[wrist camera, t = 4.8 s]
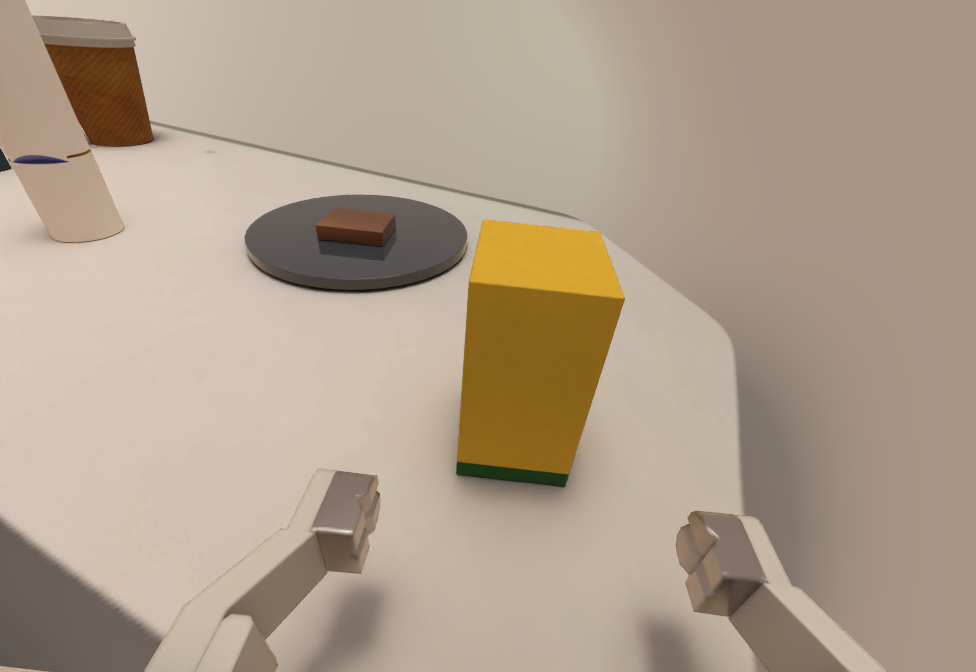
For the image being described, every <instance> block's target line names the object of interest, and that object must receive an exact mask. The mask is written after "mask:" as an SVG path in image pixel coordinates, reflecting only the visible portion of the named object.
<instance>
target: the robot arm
mask: <svg viewBox="0 0 976 672" xmlns="http://www.w3.org/2000/svg"><path fill="white" fill-rule="evenodd" d="M377 487H378V477H377V475H368V474H360V473H351V472H343V471H337V470H328V469H317V471H316V472H315V473H314V474H313V476H312V478H311V480H310V482H309V484H308V486H307V488H306V490H305V492H304V494H303V496H302V498H301V501H300V503H299V505H298V507H297V509H296V511H295V513H294V515H293V517H292V519H291V521H290V523H289V525H288V527H287V529H280V530H278V531H277V532H276V533H275V534H273V535H272V536H271V537H270V538H268V539H267V540H266V541H264V542H263V543H262V544H261V545H259V546H258V547H257V548H256V549H254V550H253V551H252V552H251V553H249V554H248V555H247V556H246V557H244V558H243V559H242V560H241V561H239V562H238V563H237V564H236V565H234V566H233V567H232V568H230V569H229V570H228V571H227V572H225V573H224V574H223V575H222V576H220V577H219V578H218V579H217V580H215V581H214V582H213V583H212V584H210V585H209V586H208V587H207V588H205V589H204V590H203V591H202V592H200V593H199V594H198V595H196V596H195V597H194V598H193V599H191V600H190V601H189V602H188V603H186V604H185V605H184V606H183V607H182V609H181V611H180V612H179V614H178V616H177V617H176V619H175V621H174V622H173V624H172V626H171V627H170V629H169V631H168V632H167V634H166V636H165V637H164V639H163V641H162V642H161V644H160V646H159V647H158V649H157V651H156V652H155V654H154V656H153V658H152V659H151V661H150V662H149V664H148V666H147V667H146V669H145V671H144V672H275V671H276V669H277V666H278V663H277V660H276V657H275V656H274V654H273V652H272V651H271V649H270V647H269V646H268V644H267V642H266V641H265V640H266V639H267V638H268V636H269V635H270V634H271V633H272V632H273V631H274V630H275V629H276V628H277V627H278V626H279V625H280V624H281V622H282V621H283V620H284V619H285V618H286V617H287V616H288V615H289V614H290V613H291V612H292V611H293V610H294V608H295V607H296V606H297V605H298V604H299V603H300V602H301V601H302V600H303V599H304V598H305V597H306V596H307V594H308V593H309V592H310V591H311V590H312V589H313V588H314V587H315V586H316V585H317V584H318V583H319V582H320V581H321V579H322V578H323V577H324V576H325V575H326V574H327V571H334V572H345V573H357V574H361V573H362V569H363V566H364V563H365V560H366V556H367V553H368V550H369V542H368V535H370V534H371V533H372V532H373V531H374V530H375V527H376V523H377V520H378V515H379V509H380V493H379V492H378V491H376V490H377ZM688 521H689V524H687V525H685V526H683V527H681V529H680V531H679V532H678V534H677V541H676V549H677V555H678V559H679V563H680V565H681V566H682V567H683V568H684V570H685V571H686V572H687V573H688V574H689V575H688V578H687V580H686V587H687V590H688V593H689V597H690V600H691V603H692V607H693V610H694V612H699V613H706V614H713V615H720V616H727V617H729V618H728V619H729V620H730V622H731V623H732V624H733V626H734V627H735V628H736V630H737V631H738V632H739V633H740V635H741V636H742V637H743V639H744V640H745V641H746V643H747V644H748V645H749V647H750V648H751V649H752V651H753V652H754V653H755V654H756V656H757V657H758V658H759V660H760V661H761V662H762V664H763V665H764V666H765V667H766V669H767V670H768V672H887V671H886V670H885V669H884V668H883V667H882V666H881V665H880V664H879V663H878V662H877V661H876V660H875V659H874V658H873V657H872V656H870V655H869V654H868V653H867V652H866V651H865V650H864V649H863V648H862V647H861V646H860V645H859V644H858V643H857V642H856V641H855V640H854V639H853V638H851V637H850V636H849V635H848V634H847V633H846V632H845V631H844V630H843V629H842V628H841V627H840V626H839V625H838V624H837V623H836V622H835V621H833V619H831V618H830V617H829V616H828V615H827V614H826V613H825V612H824V611H823V610H822V609H821V608H820V607H819V606H818V605H817V604H816V603H815V602H814V601H813V600H811V599H810V598H809V597H808V596H807V595H806V594H805V593H804V592H803V591H802V590H801V589H800V588H799V587H795V586H792V585H791V583H790V581H789V579H788V577H787V575H786V573H785V571H784V569H783V567H782V564H781V563H780V561H779V558H778V556H777V555H776V552H775V550H774V548H773V546H772V544H771V542H770V540H769V538H768V536H767V534H766V532H765V530H764V528H763V526H762V524H761V522H760V521H759V520H758V519H757V518H755V517H750V516H740V515H733V514H725V513H714V512H704V511H694V512H691V513H690V515H689V516H688ZM0 672H46V671H37V670H29V669H19V668H12V667H3V666H0Z"/></svg>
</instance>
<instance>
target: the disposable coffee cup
mask: <svg viewBox="0 0 976 672" xmlns="http://www.w3.org/2000/svg"><path fill="white" fill-rule="evenodd" d="M32 17H33V20H34V22H35V24H36V27H37V29H38V31H39V33H40V36H41V38H42V40H43V42H44V45H45V47H46V49H47V52H48V54H49V56H50V58H51V61H52V63H53V65H54V67H55V70H56V72H57V74H58V77H59V79H60V81H61V83H62V86H63V88H64V90H65V92H66V95H67V97H68V99H69V102H70V104H71V106H72V108H73V111H74V113H75V115H76V117H77V120H78V121H79V123H80V125H81V127H82V128H83V130H84V132H85V133H86V135H87V137H88V139H89V140H90V142H91V143H94V144H98V145H106V146H126V145H137V144H144V143H147V142H150V141H152V140H153V135H152V130H151V126H150V121H149V116H148V112H147V107H146V102H145V97H144V93H143V88H142V84H141V79H140V74H139V69H138V65H137V61H136V55H135V51H134V46H135V43H134V40H136V38H135V37H133V36H132V35H131V33H130V31H129V29H128V27H127V25H126V24H125V23H121V22H113V21H104V20H94V19H82V18H68V17H54V16H32Z"/></svg>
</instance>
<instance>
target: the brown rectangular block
mask: <svg viewBox="0 0 976 672" xmlns="http://www.w3.org/2000/svg"><path fill="white" fill-rule="evenodd" d="M395 228H396V217H395V214H393V213H383V212H374V211H365V210H356V209H347V208H338V207H335V208H334V209H332V210H331V211H330V212H329V213H328V214H327V215H326V216H325V217H324V218H323V219H321V220H320V221H319V222H318V223H317V224H316V232H317V238H318V240H326V241H335V242H344V243H354V244H363V245H372V246H381V247H383V246H384V244H385V243H386V241H387V240H388V238H389V237H390V235H391V234H392V232H393V231H394V229H395Z"/></svg>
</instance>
